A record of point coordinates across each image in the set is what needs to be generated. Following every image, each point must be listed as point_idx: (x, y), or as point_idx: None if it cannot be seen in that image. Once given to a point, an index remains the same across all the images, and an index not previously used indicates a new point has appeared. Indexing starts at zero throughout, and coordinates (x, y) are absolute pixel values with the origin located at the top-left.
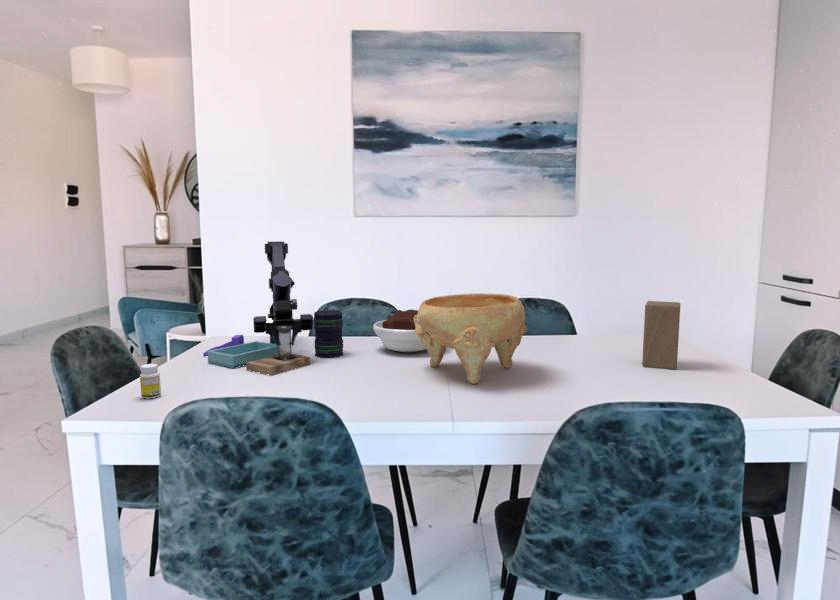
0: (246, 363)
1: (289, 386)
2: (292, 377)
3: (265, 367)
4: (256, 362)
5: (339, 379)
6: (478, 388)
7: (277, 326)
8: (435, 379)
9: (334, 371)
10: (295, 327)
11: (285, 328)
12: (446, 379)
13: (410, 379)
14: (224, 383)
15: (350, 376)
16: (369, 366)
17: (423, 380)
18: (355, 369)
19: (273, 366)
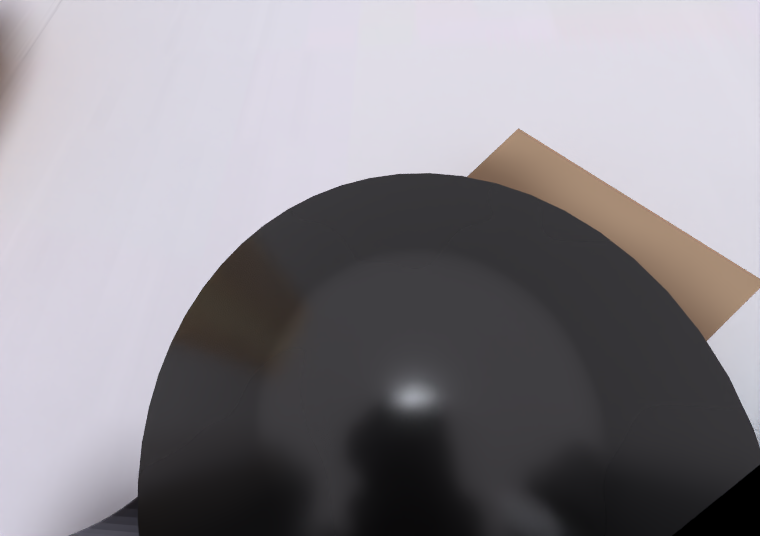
0: (754, 281)
1: (410, 17)
2: (398, 125)
3: (553, 155)
4: (659, 266)
5: (234, 95)
6: (2, 31)
7: (650, 339)
8: (22, 92)
9: (222, 202)
10: (137, 527)
11: (369, 198)
12: (4, 92)
13: (66, 93)
14: (748, 38)
15: (192, 129)
16: (85, 261)
17: (47, 84)
18: (144, 222)
19: (500, 147)
